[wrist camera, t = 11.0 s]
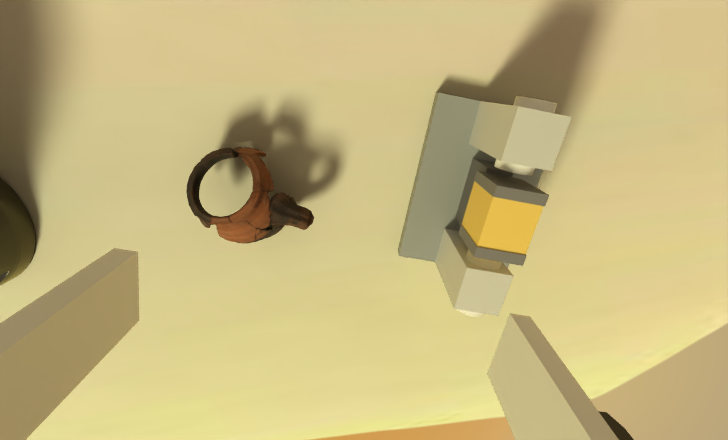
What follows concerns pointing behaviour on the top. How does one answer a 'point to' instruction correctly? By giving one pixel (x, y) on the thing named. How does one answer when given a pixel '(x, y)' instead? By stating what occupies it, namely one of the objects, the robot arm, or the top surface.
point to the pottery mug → (258, 208)
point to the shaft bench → (442, 176)
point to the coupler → (501, 217)
